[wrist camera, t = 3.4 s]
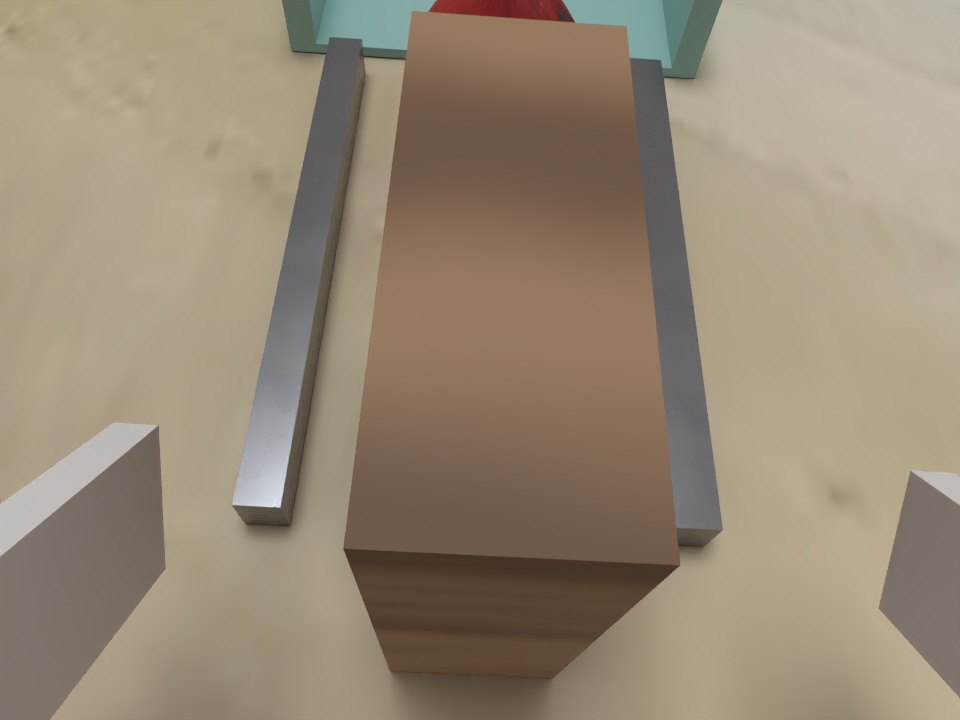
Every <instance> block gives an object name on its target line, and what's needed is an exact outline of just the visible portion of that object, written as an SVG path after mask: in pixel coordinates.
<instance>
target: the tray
mask: <svg viewBox="0 0 960 720" xmlns="http://www.w3.org/2000/svg"><path fill="white" fill-rule="evenodd" d="M435 1H437V0H282V3H283V8H284V13H285V18H286V23H287V28H288V34H289V39H290V44H291V49H292V51H302V52H317V53H326V52H327V47H328V43H329V38H330V37H339V38H353V39H362V43H363V53H364V56H375V57H390V58H404V59H406V53H407V45H408V37H409V29H410V22H411V14H412V11H421V12H428V11H429V10H430V8H431V7H432V5H433V4H434V3H435ZM562 1H563V2H564V4H565V5H566V7H567V9H568V10H569V12H570V14H571V16H572V18H573V19H574V21H575V23H588V24H602V25H616V26H627V35H628V45H629V55H630V58H641V59H655V60H661V62H662V70H663V76H666V77H680V78H694V76H695V73H696V71H697V68H698V65H699V63H700V60H701V57H702V54H703V52H704V49H705V46H706V44H707V41H708V38H709V35H710V33H711V30H712V27H713V24H714V22H715V19H716V16H717V14H718V11H719V8H720V5H721V3H722V0H562Z"/></svg>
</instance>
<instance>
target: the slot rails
mask: <svg viewBox="0 0 960 720" xmlns="http://www.w3.org/2000/svg"><path fill="white" fill-rule="evenodd" d="M630 65H631V75H632V85H633V95H634V105H635V115H636V126H637V136H638V146H639V156H640V166H641V176H642V186H643V196H644V206H645V216H646V226H647V237H648V247H649V257H650V267H651V277H652V287H653V297H654V307H655V317H656V327H657V337H658V347H659V358H660V368H661V378H662V388H663V398H664V408H665V418H666V428H667V438H668V448H669V458H670V469H671V479H672V489H673V499H674V509H675V519H676V529H677V539H678V545H687V546H705V545H706V544H707V543H708V542H710V541H711V540H712V539H713V538H714V537H715V536H716V535H718V534H719V533H720V532H721V531H722V530H723V528H722V521H721V513H720V505H719V498H718V490H717V482H716V475H715V467H714V460H713V452H712V444H711V437H710V429H709V421H708V414H707V406H706V398H705V391H704V383H703V376H702V368H701V360H700V353H699V345H698V337H697V330H696V322H695V314H694V307H693V299H692V291H691V284H690V276H689V269H688V261H687V253H686V246H685V238H684V230H683V223H682V215H681V207H680V200H679V192H678V185H677V177H676V169H675V162H674V154H673V146H672V139H671V131H670V123H669V116H668V108H667V100H666V93H665V85H664V78H663V70H662V62H661V60H655V59H641V58H630ZM364 78H365V64H364V53H363V43H362V39H353V38H339V37H330V38H329V43H328V47H327V52H326V57H325V62H324V66H323V71H322V76H321V81H320V86H319V90H318V95H317V100H316V105H315V110H314V114H313V119H312V124H311V129H310V134H309V138H308V143H307V148H306V153H305V157H304V162H303V167H302V172H301V177H300V181H299V186H298V191H297V196H296V201H295V205H294V210H293V215H292V220H291V225H290V229H289V234H288V239H287V244H286V248H285V253H284V258H283V263H282V268H281V272H280V277H279V282H278V287H277V292H276V296H275V301H274V306H273V311H272V315H271V320H270V325H269V330H268V335H267V339H266V344H265V349H264V354H263V359H262V363H261V368H260V373H259V378H258V383H257V387H256V392H255V397H254V402H253V406H252V411H251V416H250V421H249V426H248V430H247V435H246V440H245V445H244V450H243V454H242V459H241V464H240V469H239V474H238V478H237V483H236V488H235V493H234V497H233V502H232V506H233V507H234V509H235V510H236V511H237V513H238V514H239V516H240V517H241V518H242V520H243V521H244V522H245V523H248V524H268V525H287V526H290V525H291V519H292V512H293V506H294V500H295V494H296V488H297V482H298V476H299V470H300V464H301V458H302V452H303V446H304V440H305V434H306V428H307V422H308V416H309V410H310V404H311V398H312V392H313V386H314V380H315V374H316V368H317V362H318V356H319V350H320V344H321V338H322V331H323V325H324V319H325V313H326V307H327V301H328V295H329V289H330V283H331V277H332V271H333V265H334V259H335V253H336V247H337V241H338V235H339V229H340V223H341V217H342V211H343V205H344V199H345V193H346V187H347V181H348V175H349V169H350V163H351V157H352V151H353V144H354V138H355V132H356V126H357V120H358V114H359V108H360V102H361V96H362V90H363V84H364Z"/></svg>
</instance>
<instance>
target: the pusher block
mask: <svg viewBox="0 0 960 720" xmlns="http://www.w3.org/2000/svg"><path fill="white" fill-rule="evenodd" d="M344 551H345V554H346V557H347V559H348V562H349V564H350V567H351V570H352V572H353V575H354V578H355V580H356V583H357V585H358V588H359V591H360V593H361V596H362V599H363V601H364V604H365V606H366V609H367V612H368V614H369V617H370V619H371V622H372V625H373V627H374V630H375V633H376V635H377V638H378V640H379V643H380V646H381V648H382V651H383V654H384V656H385V659H386V661H387V664H388V667H389V669H390V671H395V672H417V673H440V674H462V675H485V676H507V677H530V678H553V677H554V676H555V675H557V674H558V673H559V672H560V671H561V670H562V669H563V668H564V667H566V666H567V665H568V664H569V663H570V662H571V661H572V660H574V659H575V658H576V657H577V656H578V655H579V654H580V653H581V652H583V651H584V650H585V649H586V648H587V647H588V646H589V645H591V644H592V643H593V642H594V641H595V640H596V639H597V638H598V637H600V636H601V635H602V634H603V633H604V632H605V631H606V630H607V629H609V628H610V627H611V626H612V625H613V624H614V623H615V622H617V621H618V620H619V619H620V618H621V617H622V616H623V615H624V614H626V613H627V612H628V611H629V610H630V609H631V608H632V607H633V606H635V605H636V604H637V603H638V602H639V601H640V600H641V599H643V598H644V597H645V596H646V595H647V594H648V593H649V592H650V591H652V590H653V589H654V588H655V587H656V586H657V585H658V584H660V583H661V582H662V581H663V580H664V579H665V578H666V577H667V576H669V575H670V574H671V573H672V572H673V571H674V570H675V569H676V568H678V567H679V566H680V559H679V549H678V539H677V529H676V519H675V509H674V499H673V489H672V479H671V469H670V458H669V448H668V438H667V428H666V418H665V408H664V398H663V388H662V378H661V368H660V358H659V347H658V337H657V327H656V317H655V307H654V297H653V287H652V277H651V267H650V257H649V247H648V237H647V226H646V216H645V206H644V196H643V186H642V176H641V166H640V156H639V146H638V136H637V126H636V115H635V105H634V95H633V85H632V75H631V65H630V55H629V45H628V35H627V26H616V25H602V24H588V23H574V22H560V21H546V20H532V19H518V18H504V17H490V16H477V15H463V14H449V13H435V12H421V11H412V14H411V22H410V29H409V37H408V45H407V53H406V61H405V69H404V77H403V85H402V92H401V100H400V108H399V116H398V124H397V132H396V140H395V147H394V155H393V163H392V171H391V179H390V187H389V195H388V203H387V210H386V218H385V226H384V234H383V242H382V250H381V258H380V265H379V273H378V281H377V289H376V297H375V305H374V313H373V320H372V328H371V336H370V344H369V352H368V360H367V368H366V376H365V383H364V391H363V399H362V407H361V415H360V423H359V431H358V438H357V446H356V454H355V462H354V470H353V478H352V486H351V494H350V501H349V509H348V517H347V525H346V533H345V541H344Z"/></svg>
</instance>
